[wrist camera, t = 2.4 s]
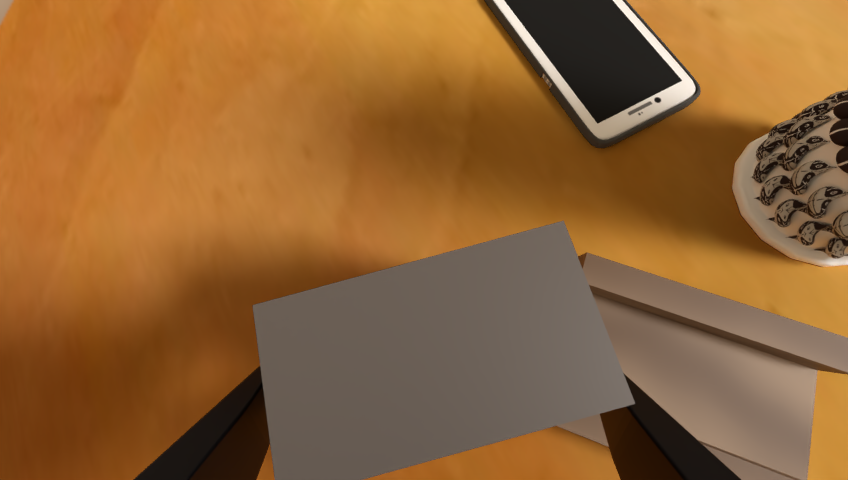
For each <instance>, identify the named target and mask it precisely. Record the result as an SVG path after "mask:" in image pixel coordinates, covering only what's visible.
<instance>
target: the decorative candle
mask: <svg viewBox="0 0 848 480" xmlns="http://www.w3.org/2000/svg"><path fill="white" fill-rule="evenodd" d="M833 108H834V109H833ZM732 190H733V193H734V196H735V199H736V202H737V205H738V208H739V211H740V214H741V216H742V217H743V218H744V219H745V220H746V222H747V223H748V224H749V225H750V227H751V228H752V229H753V230H754V231H755V233H756V234H757V235H758V236H759V238H760V239H761V240H763V241H764V242H766V243H767V244H769V245H770V246H772V247H773V248H775V249H777V250H778V251H780V252H781V253H783V254H784V255H786V256H788V257H789V258H791V259H795V260H799V261H803V262H806V263H810V264H814V265H818V266H821V267H829V266H841V265H848V90H846V91H840V92H836V93H834V94H832V95H830V96H828V97H827V98H826V99H824V100H823V101H820V102H817V103H814V104H812V105H810V106H808V107H807V108H805V109H804V110H803V111H802V112H801V113H799V114H797V115H796V116H794V117H793V118H792V119H791V120H787V121H784V122H781V123H779V124H777V125H776V126H774V127H773V128H772V129H771V130H770V132H769V133H767V134H765V135H764V136H762V137H760V138H758V139H756V140H754V141H752V142H751V143H749V144H748V145H747V147H746V148H745V149H744V151H743V152H742V154H741V155H740V156H739V158H738V159H737V161H736V162H735V165H734V174H733V183H732Z"/></svg>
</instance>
